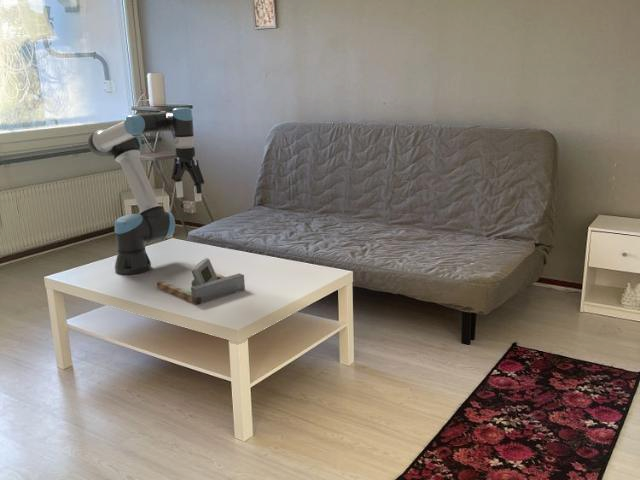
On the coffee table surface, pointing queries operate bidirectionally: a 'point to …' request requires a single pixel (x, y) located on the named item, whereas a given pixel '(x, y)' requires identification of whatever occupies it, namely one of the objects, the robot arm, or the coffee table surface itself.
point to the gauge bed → (181, 291)
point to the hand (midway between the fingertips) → (189, 199)
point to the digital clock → (203, 273)
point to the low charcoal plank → (218, 288)
